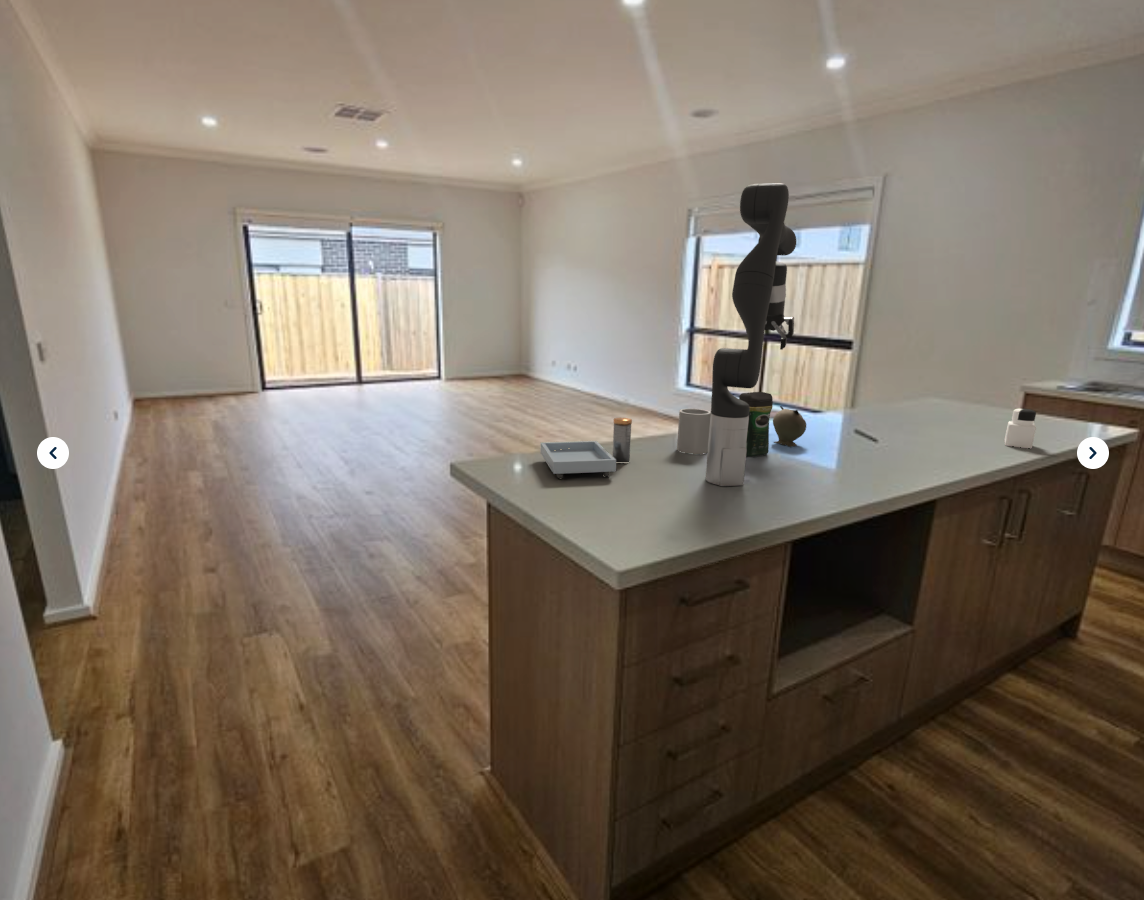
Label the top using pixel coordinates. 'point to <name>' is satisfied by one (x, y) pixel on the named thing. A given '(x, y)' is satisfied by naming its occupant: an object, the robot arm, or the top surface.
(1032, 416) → the medicine bottle
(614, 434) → the canister
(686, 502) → the top surface
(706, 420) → the cup
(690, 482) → the top surface
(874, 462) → the top surface
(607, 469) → the dolly
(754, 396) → the coffee jar
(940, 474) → the top surface
